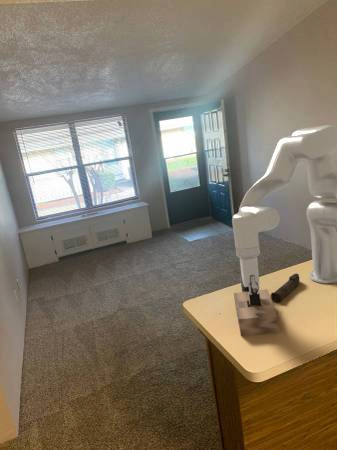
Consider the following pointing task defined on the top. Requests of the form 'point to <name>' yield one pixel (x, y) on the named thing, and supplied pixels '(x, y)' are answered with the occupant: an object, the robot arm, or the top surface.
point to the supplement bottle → (243, 285)
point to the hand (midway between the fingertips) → (253, 297)
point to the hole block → (256, 314)
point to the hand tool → (286, 288)
